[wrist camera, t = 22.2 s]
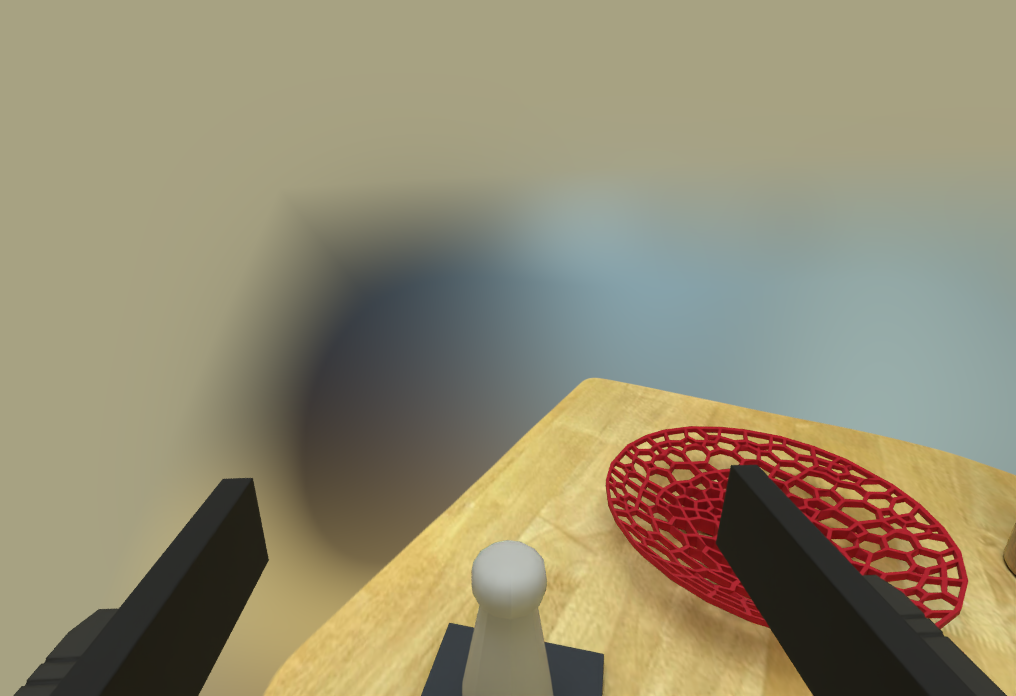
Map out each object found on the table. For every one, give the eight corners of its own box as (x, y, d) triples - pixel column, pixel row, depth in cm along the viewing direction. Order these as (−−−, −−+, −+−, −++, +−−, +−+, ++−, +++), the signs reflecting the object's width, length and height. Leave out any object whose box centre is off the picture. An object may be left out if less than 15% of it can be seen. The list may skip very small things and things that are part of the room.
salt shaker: (444, 727, 32) (434, 567, 27) (497, 659, 36) (496, 511, 32) (520, 789, 28) (524, 620, 24) (568, 706, 33) (578, 550, 28)
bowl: (1053, 657, 37) (1079, 607, 36) (694, 727, 33) (705, 673, 31) (784, 451, 65) (792, 417, 63) (567, 473, 60) (569, 436, 58)
